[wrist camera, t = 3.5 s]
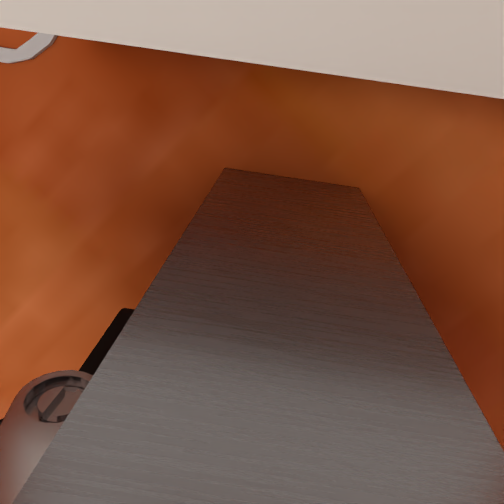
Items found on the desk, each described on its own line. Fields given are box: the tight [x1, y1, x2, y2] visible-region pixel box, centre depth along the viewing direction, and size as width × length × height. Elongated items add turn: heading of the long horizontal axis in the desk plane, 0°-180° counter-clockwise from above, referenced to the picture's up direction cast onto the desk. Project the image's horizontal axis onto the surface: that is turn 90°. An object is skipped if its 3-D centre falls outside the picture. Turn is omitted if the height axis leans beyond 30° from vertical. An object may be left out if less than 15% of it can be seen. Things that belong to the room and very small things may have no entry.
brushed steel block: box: [12, 168, 504, 504], centre depth 9 cm, size 4×6×12 cm, turn 173°
